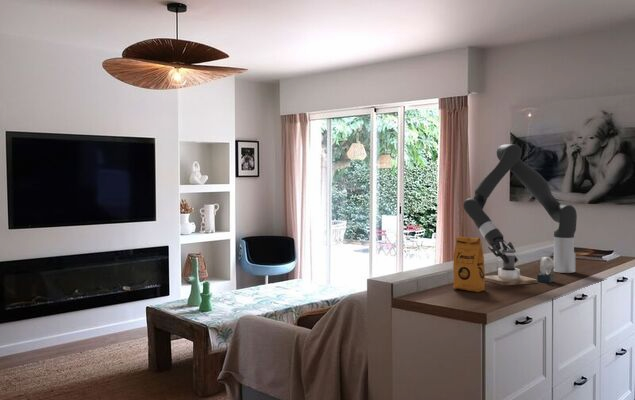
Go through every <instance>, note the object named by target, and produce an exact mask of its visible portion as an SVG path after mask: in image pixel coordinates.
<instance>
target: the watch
mask: <svg viewBox="0 0 635 400" xmlns="http://www.w3.org/2000/svg"><path fill="white" fill-rule="evenodd" d="M553 268H554V259H553V258H551V257H548V256H542V257H541V259H540V262H539V270H540V273H538V274H537V277H536V279H537V282H538V283H539V282H540V283H541V282H542V283H549V284H551V283H553V282H554V277H555V276H554V275H555V274H551V272H552V269H553Z"/></svg>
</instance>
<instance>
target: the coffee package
mask: <svg viewBox="0 0 635 400" xmlns="http://www.w3.org/2000/svg"><path fill="white" fill-rule="evenodd" d="M455 240H456V241H455V246H454V251H453V255H452V256H453V257H452V258H453V259H452V260H453V261H452V262H453V263H452V264H453V265H452V266H453V289H458V290H461V291H468V292H475V293H481V292H483V291H485V285H486V284H485V283H486V281H485V276H486V272H485V271H486V270H485V258H484V257H485V256H484V252H483V246H482V242H481V240H482V239H481V238H480V237H466V236H456V238H455Z"/></svg>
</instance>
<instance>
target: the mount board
mask: <svg viewBox="0 0 635 400" xmlns="http://www.w3.org/2000/svg"><path fill="white" fill-rule="evenodd" d="M485 282H489V283H493V284H497V285H499V286H512V285H513V286H515V285H528V284H538V281H537V278H532V277H527V276H524V275H520V279H516V280H507V279H500V278H498V274H497V275H496V274H495V275H494V274H493V275H485Z"/></svg>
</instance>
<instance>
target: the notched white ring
mask: <svg viewBox="0 0 635 400" xmlns="http://www.w3.org/2000/svg"><path fill="white" fill-rule="evenodd" d="M520 271H521V270H520V268H517V267H514V270H503V267H498V268H497V275H498V278H500V279H507V280H516V279H520V276H521V272H520Z"/></svg>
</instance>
